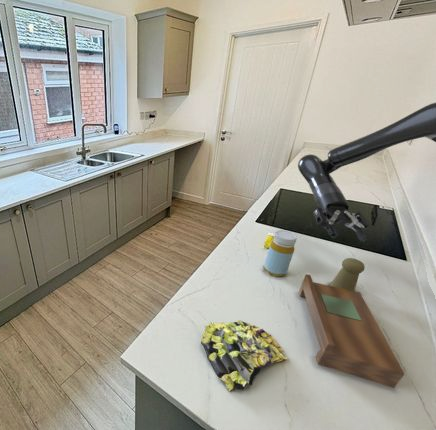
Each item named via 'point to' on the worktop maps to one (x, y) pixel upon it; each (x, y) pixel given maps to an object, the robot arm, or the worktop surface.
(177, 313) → the worktop surface
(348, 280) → the olive knobbed peg
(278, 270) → the bottle
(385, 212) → the worktop surface
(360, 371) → the shelf
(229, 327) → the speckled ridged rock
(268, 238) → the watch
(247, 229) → the worktop surface
